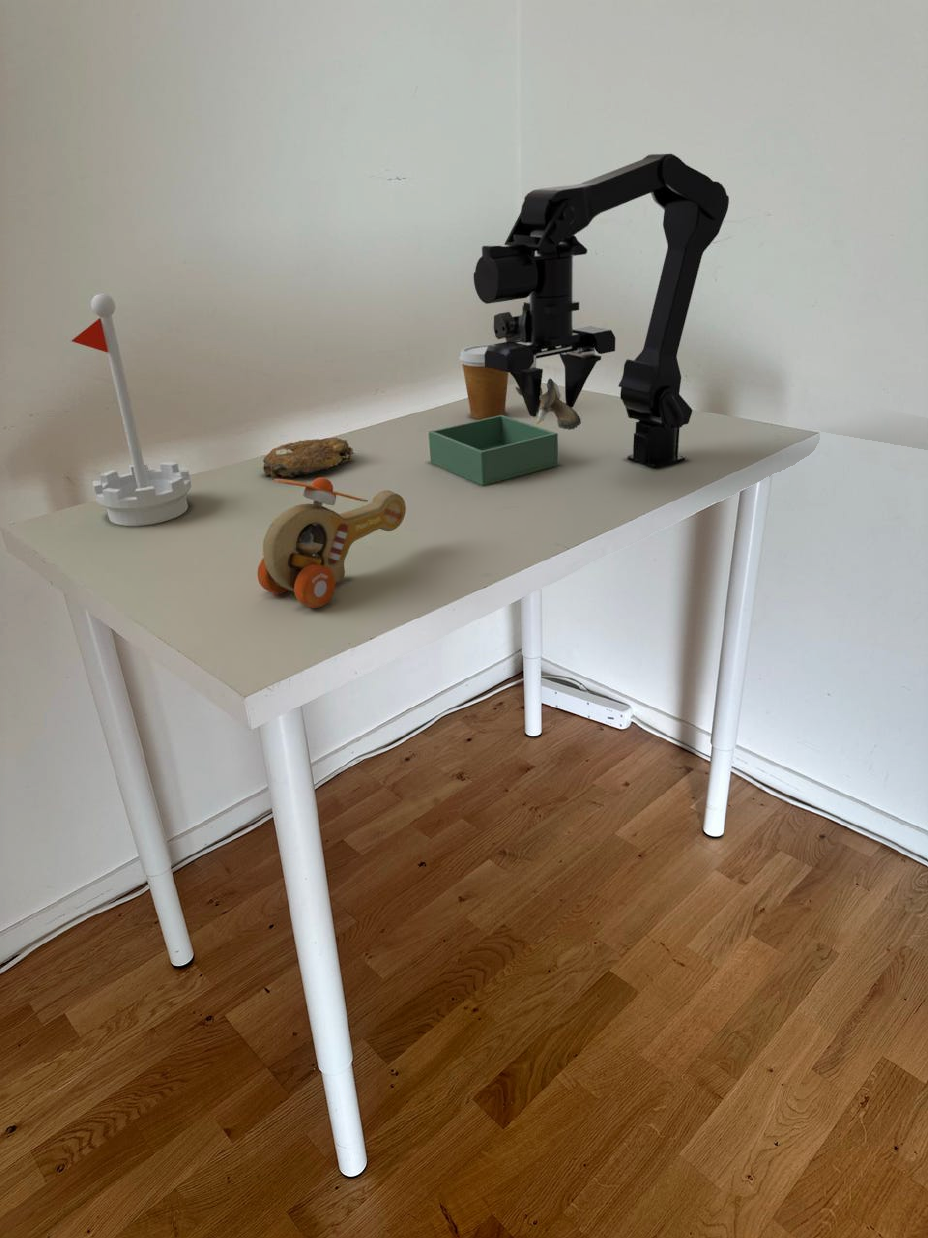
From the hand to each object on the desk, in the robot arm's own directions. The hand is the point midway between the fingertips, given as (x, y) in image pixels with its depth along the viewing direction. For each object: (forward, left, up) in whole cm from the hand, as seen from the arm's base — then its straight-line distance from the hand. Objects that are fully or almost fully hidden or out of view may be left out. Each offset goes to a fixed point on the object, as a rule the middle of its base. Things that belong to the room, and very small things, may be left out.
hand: (551, 411), depth 127 cm
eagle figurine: (0, 0, -2) cm, 2 cm away
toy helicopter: (+39, +9, -11) cm, 42 cm away
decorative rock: (+23, -33, -11) cm, 42 cm away
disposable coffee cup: (-16, -39, -11) cm, 44 cm away
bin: (0, -15, -11) cm, 19 cm away
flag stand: (+50, -30, -11) cm, 60 cm away
